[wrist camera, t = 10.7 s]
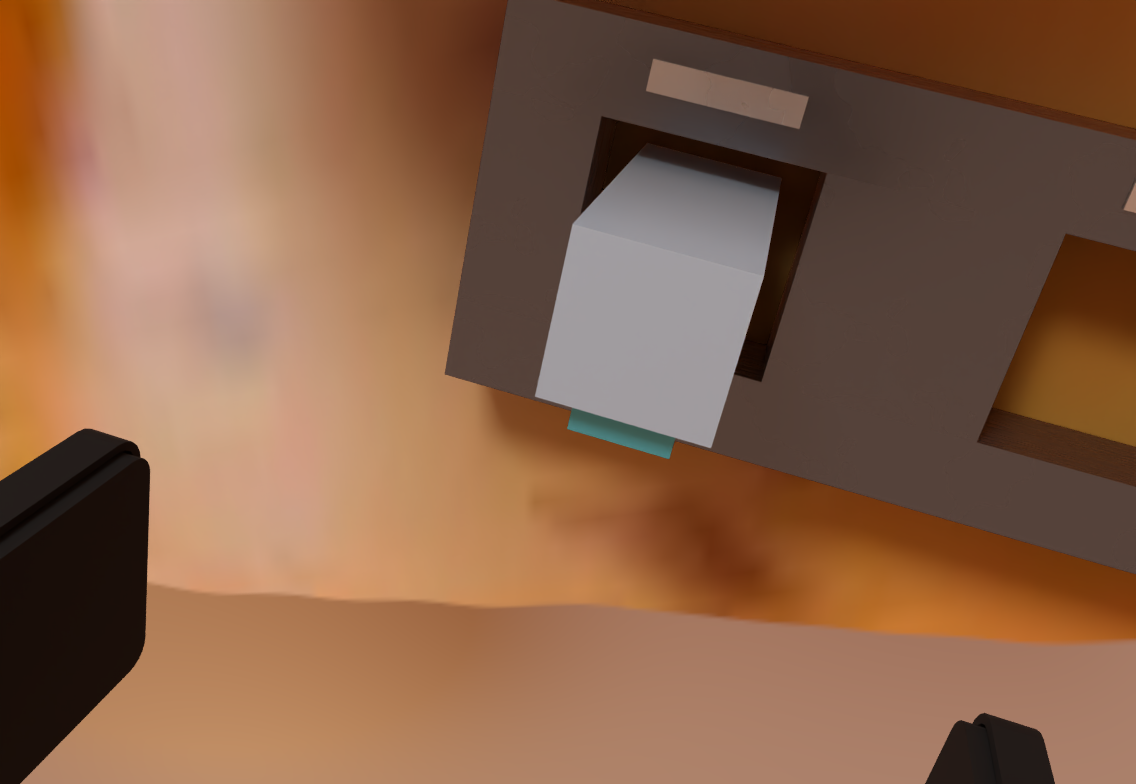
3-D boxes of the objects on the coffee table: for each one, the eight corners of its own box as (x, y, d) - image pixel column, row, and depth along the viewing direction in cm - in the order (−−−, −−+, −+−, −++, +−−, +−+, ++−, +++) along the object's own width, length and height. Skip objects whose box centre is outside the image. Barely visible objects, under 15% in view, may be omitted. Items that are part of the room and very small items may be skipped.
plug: (782, 177, 30) (764, 276, 21) (736, 330, 32) (701, 479, 23) (647, 142, 30) (572, 224, 21) (610, 294, 32) (528, 428, 23)
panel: (1440, 201, 26) (1513, 231, 23) (1234, 556, 31) (1275, 616, 28) (538, -14, 29) (508, -11, 26) (474, 340, 34) (443, 375, 31)
